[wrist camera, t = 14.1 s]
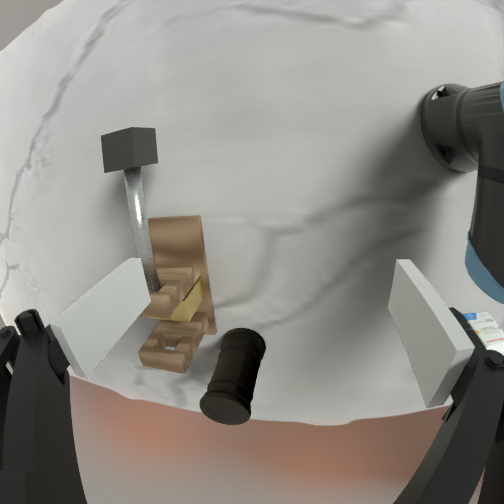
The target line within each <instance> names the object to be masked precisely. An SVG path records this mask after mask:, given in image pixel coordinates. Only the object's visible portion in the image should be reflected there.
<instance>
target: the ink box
mask: <svg viewBox="0 0 504 504" xmlns="http://www.w3.org/2000/svg"><path fill="white" fill-rule="evenodd" d="M463 316H464V317H465V319H466V320H467V321H468V322H467V323H469V324H470V326H471V327H472V329H473V330H474V331H475V333H476V334H477V336H478V337H479V338H480V340H481V341H482V343H483V344H484V346H485V347H486V349H487V350H490V349H491V350H495V351H498V352H500V353H501V354H502V355H504V332H503V331H502V329H501V328H500V327H499V326H498V324H497V323H496V322H495V321H494V319H493V318H492V317H491V316H490V315H489V313H488V312H480V313H472V314H463Z"/></svg>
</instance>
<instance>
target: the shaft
mask: <svg viewBox="0 0 504 504" xmlns="http://www.w3.org/2000/svg"><path fill="white" fill-rule="evenodd" d="M101 142H102V154H103V163H104V172H105V173H107V172H112V171H117V170H124V179H125V186H126V194H127V200H128V207H129V213H130V219H131V225H132V230H133V235H134V240H135V245H136V250H137V255H138V258H141V262H142V266H143V271H144V275H145V279H146V283H147V287H148V291H149V292H159V290H160V289H161V285H160V281H159V276H158V272H157V267H156V262H155V257H154V252H153V247H152V242H151V236H150V230H149V224H148V218H147V212H146V205H145V198H144V191H143V183H142V175H141V166H144V165H149V164H155V163H158V157H157V146H156V133H155V128H138V127H131V128H127V129H123V130H119V131H116V132H112V133H109V134H105V135H102V136H101Z"/></svg>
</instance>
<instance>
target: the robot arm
mask: <svg viewBox="0 0 504 504" xmlns="http://www.w3.org/2000/svg"><path fill="white" fill-rule="evenodd" d="M421 125H422V131H423V134H424V138H425V140H426V143H427V145H428V147H429V148H430V150H431V152H432V153H433V155H434V156H435V157H436V158H437V159H438V160H439V161H440V162H441V163H442V164H443V165H445V166H446V167H448V168H450V169H453V170H457V171H461V172H472V171H475V170H478V176H477V185H476V194H475V201H474V208H473V214H472V220H471V226H470V230H469V232H468V236H467V237H468V244H467V249H466V255H465V265H466V268H467V271H468V274H469V275H470V277H471V279H472V280H473V281H474V283H475V284H476V285H477V286H478V287H479V288H480V289H481V290H482V291H483V292H484V293H486V294H487V295H488V296H490V297H491V298H492V299H494V300H496V301H497V302H499V303H501V304H504V81H503V82H499V83H494V84H489V85H485V86H481V87H476V88H473V89H471V88H468V87H465V86H461V85H457V84H444V85H441V86H438V87H436V88H434V89H433V90H431V91H430V92H429V93H428V95H427V96H426V98H425V100H424V102H423V105H422V110H421ZM150 302H151V299H150V295H149V291H148V287H147V283H146V279H145V275H144V271H143V266H142V262H141V258H129V259H127V260H126V261H125V262H123V263H122V264H121V265H120V266H118V267H117V268H116V269H114V270H113V271H112V272H111V273H109V274H108V275H107V276H105V277H104V278H103V279H102V280H100V281H99V282H98V283H97V284H95V285H94V286H93V287H92V288H91V289H89V290H88V291H87V292H86V293H84V294H83V295H82V296H81V297H80V298H78V299H77V300H76V301H75V302H74V303H72V304H71V305H70V306H69V307H68V308H67V309H65V310H64V311H63V312H62V313H61V314H60V315H59V316H57V317H56V318H55V319H54V320H53V321H52V322H51V323H50V324H49V325H48V326H47V327H46V328H45V327H44V325H43V323H42V320H41V318H40V316H39V313H38V311H37V310H35V309H30V310H26V311H24V312H22V313H21V314H19V315H18V316H17V317H16V318H15V320H14V321H15V323H16V325H17V327H18V329H19V331H20V333H21V335H18V333H17V331H16V329H15V327H14V326H5V327H3V328H2V329H1V330H0V504H87V501H86V498H85V494H84V490H83V486H82V482H81V477H80V473H79V468H78V463H77V457H76V451H75V444H74V437H73V429H72V419H71V405H70V382H69V372H68V371H67V369H66V368H67V367H68V366H69V365H70V366H71V367H72V369H73V371H74V373H75V374H76V375H78V376H81V377H83V378H86V379H88V377H89V376H90V375H91V374H92V372H93V371H94V370H95V368H96V367H97V366H98V365H99V363H100V362H101V361H102V360H103V358H104V357H105V356H106V355H107V354H108V352H109V351H110V350H111V349H112V347H113V346H114V345H115V344H116V343H117V341H118V340H119V339H120V338H121V336H122V335H123V334H124V333H125V332H126V330H127V329H128V328H129V327H130V326H131V325H132V323H133V322H134V321H135V320H136V319H137V317H138V316H139V315H140V314H141V313H142V312H143V310H144V309H145V308H146V307H147V306H148V305H149V303H150ZM388 310H389V312H390V315H391V317H392V319H393V321H394V324H395V326H396V328H397V330H398V333H399V335H400V338H401V340H402V342H403V345H404V347H405V350H406V352H407V355H408V357H409V360H410V363H411V365H412V368H413V371H414V373H415V376H416V379H417V382H418V384H419V387H420V390H421V393H422V396H423V399H424V402H425V405H426V408H430V407H434V406H439V405H443V404H444V403H445V401H446V400H447V398H448V397H449V395H450V394H451V396H452V399H453V403H452V404H451V406H450V407H449V409H448V410H447V412H446V413H445V415H444V416H443V417H442V420H444V421H443V423H442V425H441V427H440V429H439V431H438V433H437V435H436V437H435V440H434V441H433V443H432V445H431V447H430V448H429V450H428V452H427V454H426V455H425V457H424V459H423V461H422V462H421V464H420V466H419V467H418V469H417V470H416V472H415V474H414V475H413V477H412V478H411V480H410V481H409V483H408V484H407V486H406V487H405V489H404V490H403V491H402V493H401V494H400V495H399V497H398V498H397V499H396V501H395V502H394V503H393V504H468V503H469V501H470V499H471V497H472V495H473V493H474V491H475V489H476V487H477V484H478V482H479V480H480V477H481V475H482V472H483V470H484V467H485V472H484V477H483V483H482V487H481V492H480V496H479V500H478V504H504V356H503V355H502V354H501V353H500V352H498V351H495V350H491V349H490V350H487V349H486V347H485V346H484V344H483V343H482V341H481V340H480V338H479V337H478V336H477V334H476V333H475V331H474V330H473V329H472V327H471V326H470V324H469V323H467V322H468V321H467V320H466V319H465V317H464V316H463V315H462V314H461V313H460V312H459V311H457V310H456V309H455V308H453V307H452V308H448V307H447V305H446V304H445V303H444V301H443V300H442V299H441V297H440V296H439V295H438V293H437V292H436V291H435V290H434V288H433V287H432V286H431V284H430V283H429V282H428V281H427V279H426V278H425V277H424V276H423V274H422V273H421V272H420V271H419V270H418V268H417V267H416V266H415V265H414V264H413V262H412V261H411V260H410V259H396V264H395V271H394V277H393V283H392V288H391V293H390V299H389V303H388ZM7 362H9V364H10V366H11V367H12V369H13V374H12V375H11V373H10V372H9V370H8V369H7V367H6V364H7ZM485 465H486V466H485Z"/></svg>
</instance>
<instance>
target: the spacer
mask: <svg viewBox="0 0 504 504" xmlns="http://www.w3.org/2000/svg"><path fill="white" fill-rule="evenodd" d="M204 297H205V294H204V288H203V281H202V277H199V278H198V279H197V280H196V282H195V283H194V284H193V286H192V287H191V289H190V290H189V291H188V293H187V294H186V296H185V297H184V298H183V300H182V301H181V303H180V304H179V305H178V307H177V308H176V310H175V311H174V313H173V314H172V315H171V317H170V318H169V319H164V318H156V317H147V316H145V317H147V318H155V319H163V320H172V321H182V322H190V320H191V318H192V317H193V315H194V313H195V312H196V310H197V308H198V307H199V305H200V303H201V302H202V300H203V298H204Z"/></svg>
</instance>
